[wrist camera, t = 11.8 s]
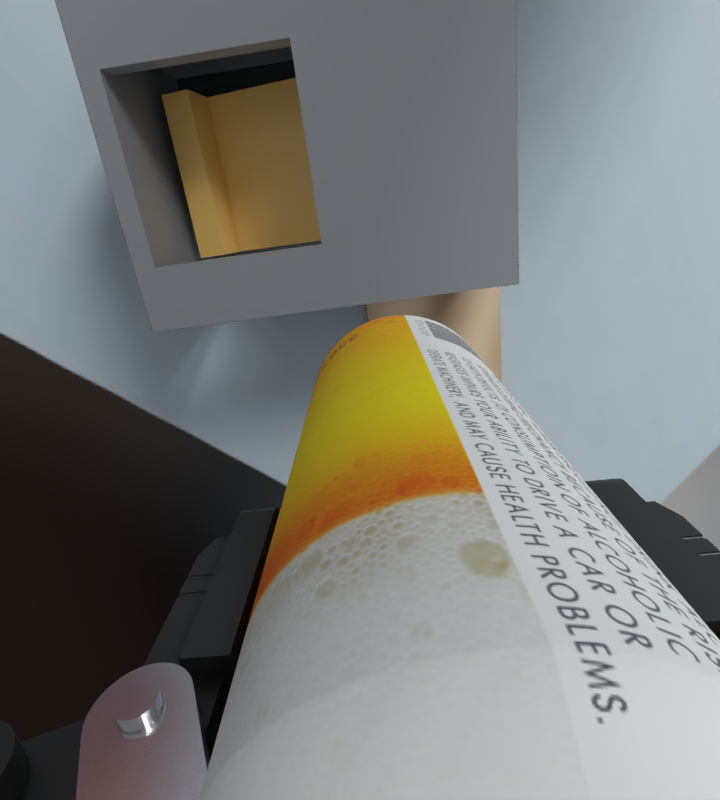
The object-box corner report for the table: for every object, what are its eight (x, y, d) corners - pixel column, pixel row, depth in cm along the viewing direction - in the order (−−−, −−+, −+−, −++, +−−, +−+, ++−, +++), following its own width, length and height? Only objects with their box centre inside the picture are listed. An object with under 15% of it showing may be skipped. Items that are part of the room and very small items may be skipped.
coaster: (496, 284, 32) (498, 285, 32) (500, 405, 35) (502, 408, 35) (366, 301, 33) (366, 302, 32) (381, 419, 36) (381, 422, 35)
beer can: (295, 435, 18) (71, 1160, 4) (350, 284, 16) (280, 716, 2) (439, 484, 19) (658, 1238, 5) (509, 346, 17) (1227, 965, 3)
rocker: (442, 39, 23) (439, 16, 20) (453, 231, 26) (452, 235, 24) (192, 96, 27) (158, 83, 24) (228, 260, 30) (203, 266, 27)
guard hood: (462, 11, 27) (513, -100, 17) (473, 264, 32) (518, 284, 22) (155, 62, 28) (49, -17, 18) (213, 299, 33) (152, 332, 23)
